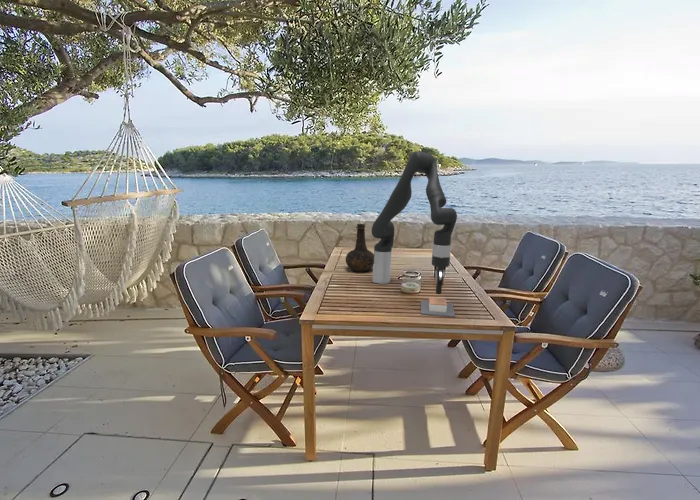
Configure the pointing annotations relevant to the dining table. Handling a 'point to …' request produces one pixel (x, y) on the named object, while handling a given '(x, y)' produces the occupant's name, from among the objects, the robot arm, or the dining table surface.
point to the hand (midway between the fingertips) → (438, 293)
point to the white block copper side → (437, 304)
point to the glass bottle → (360, 253)
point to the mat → (426, 312)
